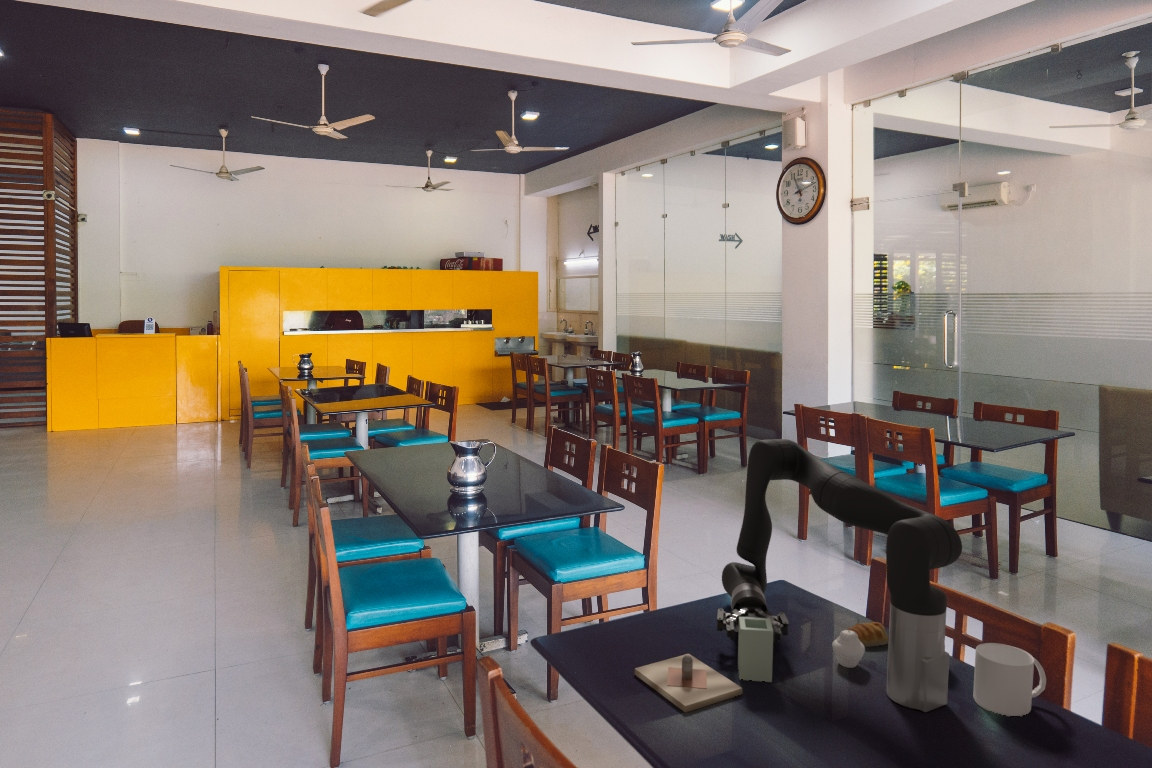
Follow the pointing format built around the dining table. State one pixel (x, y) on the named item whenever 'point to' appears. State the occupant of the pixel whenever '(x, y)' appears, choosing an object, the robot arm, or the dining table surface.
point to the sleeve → (755, 649)
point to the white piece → (848, 649)
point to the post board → (688, 682)
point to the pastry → (870, 633)
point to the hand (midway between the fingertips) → (754, 636)
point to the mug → (1005, 679)
